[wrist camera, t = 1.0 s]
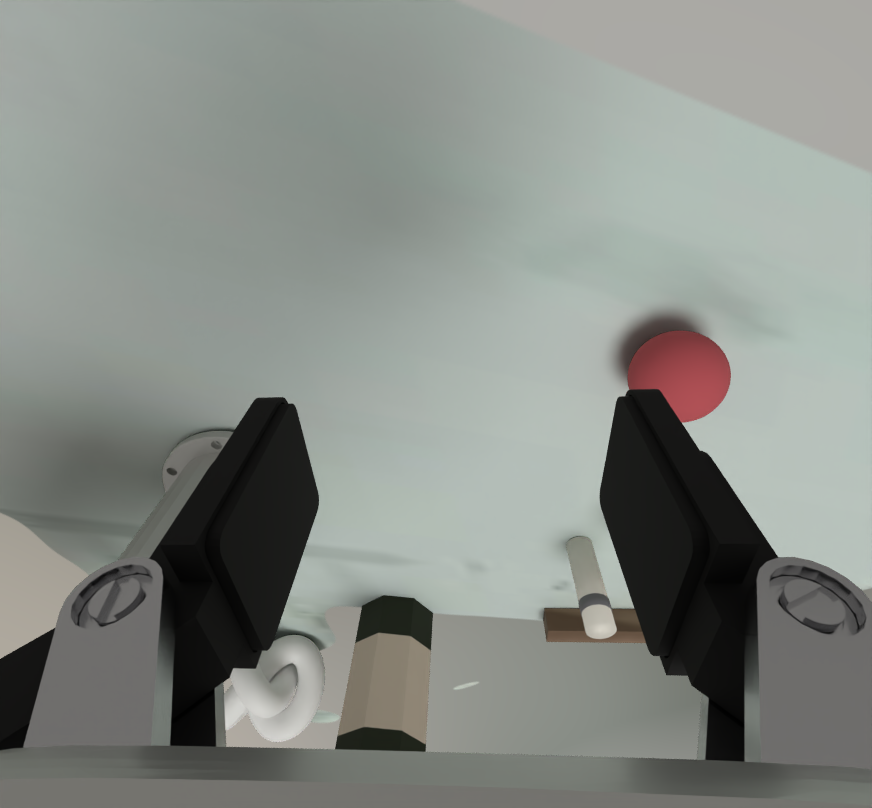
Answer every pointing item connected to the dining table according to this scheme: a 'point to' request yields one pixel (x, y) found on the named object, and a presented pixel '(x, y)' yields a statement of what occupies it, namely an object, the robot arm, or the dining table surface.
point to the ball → (682, 372)
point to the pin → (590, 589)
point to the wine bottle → (388, 678)
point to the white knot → (278, 689)
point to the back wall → (571, 627)
